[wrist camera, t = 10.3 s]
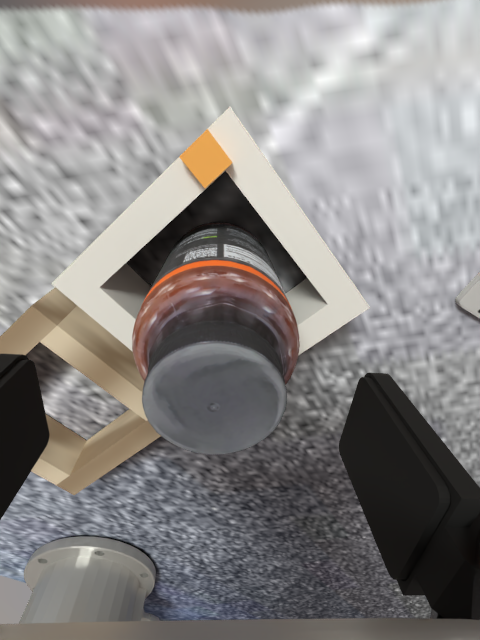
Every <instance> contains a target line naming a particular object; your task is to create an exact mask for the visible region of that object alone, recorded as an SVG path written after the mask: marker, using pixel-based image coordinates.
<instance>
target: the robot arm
mask: <svg viewBox="0 0 480 640" xmlns="http://www.w3.org/2000/svg"><path fill="white" fill-rule="evenodd" d="M49 435H50V434H49V428H48V424H47V419H46V414H45V410H44V405H43V401H42V396H41V391H40V387H39V382H38V378H37V373H36V369H35V365H34V362H33V361H31V360H29V359H28V357H27V356H26V355H22V354H0V519H1V518H2V516H3V515H4V513H5V511H6V510H7V508H8V507H9V505H10V504H11V502H12V500H13V499H14V497H15V496H16V494H17V492H18V491H19V489H20V488H21V486H22V484H23V483H24V481H25V480H26V478H27V476H28V475H29V473H30V472H31V470H32V469H33V467H34V465H35V464H36V462H37V461H38V459H39V457H40V456H41V454H42V453H43V451H44V449H45V448H46V446H47V444H48V441H49ZM339 451H340V455H341V458H342V460H343V463H344V465H345V468H346V470H347V472H348V475H349V477H350V480H351V482H352V485H353V487H354V490H355V492H356V495H357V497H358V499H359V502H360V504H361V507H362V509H363V512H364V514H365V517H366V519H367V522H368V524H369V526H370V529H371V531H372V534H373V536H374V539H375V541H376V544H377V546H378V549H379V551H380V553H381V556H382V558H383V561H384V563H385V566H386V568H387V571H388V573H389V574H390V576H391V577H392V578H393V579H396V580H397V581H398V584H399V586H400V589H401V591H402V593H403V595H425V596H426V598H427V600H428V602H429V604H430V606H431V614H430V619H420V618H349V619H254V620H189V621H160V619H159V618H158V617H156V616H154V615H152V614H147V613H145V612H144V609H143V607H144V602H145V598H146V597H147V596H148V595H149V594H150V593H151V592H152V590H153V588H154V584H155V578H156V569H155V566H154V564H153V562H152V561H151V560H150V559H149V558H148V556H147V555H145V554H144V553H143V552H141V551H140V550H138V549H137V548H135V547H133V546H131V545H128V544H126V543H123V542H120V541H117V540H112V539H108V538H101V537H91V536H79V537H68V538H63V539H58V540H55V541H52V542H50V543H47V544H45V545H43V546H42V547H40V548H38V549H37V550H36V551H35V552H34V553H33V554H32V556H31V557H30V559H29V561H28V563H27V565H26V568H25V570H24V579H25V581H26V583H27V586H28V587H29V588H30V589H31V590H32V592H33V593H32V595H31V597H30V600H29V602H28V604H27V606H26V608H25V611H24V613H23V615H22V617H21V620H20V622H19V624H0V640H480V488H479V486H478V485H477V484H476V483H475V481H474V480H473V479H472V478H471V476H470V475H469V474H468V473H467V471H466V470H465V469H464V468H463V466H462V465H461V464H460V463H459V461H458V460H457V459H456V458H455V456H454V455H453V454H452V453H451V451H450V450H449V449H448V448H447V446H446V445H445V444H444V443H443V441H442V440H441V439H440V438H439V436H438V435H437V434H436V433H435V431H434V430H433V429H432V428H431V426H430V425H429V424H428V423H427V421H426V420H425V419H424V418H423V416H422V415H421V414H420V413H419V411H418V410H417V409H416V408H415V406H414V405H413V404H412V403H411V401H410V400H409V399H408V398H407V396H406V395H405V394H404V393H403V391H402V390H401V389H400V387H399V386H398V385H397V384H396V382H395V381H394V380H393V379H392V377H391V376H390V375H389V374H383V373H367V374H366V375H365V377H362V378H360V379H359V382H358V385H357V388H356V391H355V394H354V398H353V401H352V404H351V407H350V410H349V414H348V417H347V420H346V423H345V426H344V429H343V433H342V436H341V439H340V443H339Z"/></svg>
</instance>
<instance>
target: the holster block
mask: <svg viewBox="0 0 480 640" xmlns="http://www.w3.org/2000/svg"><path fill="white" fill-rule="evenodd" d="M39 342H41V343H42V344H43V345H45V346H46V347H47V348H49V349H50V350H51V351H53V352H54V353H55V354H57V355H58V356H60V357H61V358H62V359H64V360H65V361H66V362H68V363H69V364H70V365H72V366H73V367H74V368H76V369H77V370H78V371H80V372H81V373H82V374H84V375H85V376H86V377H88V378H89V379H90V380H92V381H93V382H95V383H96V384H97V385H99V386H100V387H101V388H103V389H104V390H105V391H107V392H108V393H109V394H111V395H112V396H113V397H115V398H116V399H117V400H119V401H120V402H121V403H123V404H124V405H125V406H127V407H128V408H130V409H129V410H128V411H126V412H125V413H124V414H122V415H121V416H119V417H118V418H117V419H115V420H114V421H113V422H111V423H110V424H109V425H107V426H106V427H105V428H103V429H102V430H101V431H99V432H98V433H96V434H95V435H94V436H92V437H91V438H90V439H88V440H87V441H86V440H85V439H83V438H82V437H80V436H79V435H77V434H76V433H74V432H73V431H71V430H70V429H68V428H66V427H65V426H63V425H62V424H60V423H59V422H57V421H56V420H54V419H53V418H51V417H50V416H48V415H46V419H47V424H48V428H49V434H50V435H49V441H48V444H47V446H46V448H45V449H44V451H43V453H42V454H41V456H40V457H39V459H38V461H37V462H36V464H35V465H34V467H33V469H32V470H31V471H32V472H34V473H35V474H37V475H39V476H41V477H42V478H44V479H46V480H48V481H50V482H51V483H53V484H55V485H57V486H59V487H60V488H62V489H64V490H66V491H67V492H69V493H71V494H73V495H75V494H77V493H78V492H79V491H81V490H82V489H84V488H85V487H87V486H88V485H90V484H91V483H93V482H94V481H96V480H97V479H99V478H100V477H102V476H103V475H104V474H106V473H107V472H109V471H110V470H112V469H113V468H115V467H116V466H118V465H119V464H121V463H122V462H124V461H125V460H127V459H128V458H130V457H131V456H132V455H134V454H135V453H137V452H138V451H140V450H141V449H143V448H144V447H146V446H147V445H149V444H150V443H152V442H153V441H155V440H156V439H157V438H159V437H160V436H161V435H159V434H158V433H157V432H156V431H155V429H154V428H153V427H152V426H151V424H150V423H149V421H148V419H147V417H146V415H145V412H144V409H143V403H142V392H143V386H144V380H143V379H142V377H141V375H140V373H139V371H138V368H137V366H136V363H135V360H134V356H133V352H132V351H131V350H130V349H129V348H128V347H126V346H125V345H124V344H123V343H122V342H120V341H119V340H118V339H117V338H116V337H114V336H113V335H112V334H111V333H110V332H108V331H107V330H106V329H105V328H104V327H102V326H101V325H100V324H99V323H98V322H96V321H95V320H94V319H93V318H92V317H90V316H89V315H88V314H87V313H86V312H84V311H83V310H82V309H81V308H80V307H78V306H77V305H76V304H75V303H74V302H73V301H71V300H70V299H69V298H68V297H67V296H65V295H64V294H63V293H62V292H61V291H59V290H58V289H57V288H56V287H55V288H54V289H53V290H51V291H50V292H49V293H47V294H46V295H45V296H44V297H42V298H41V299H40V300H38V301H37V302H36V303H34V304H33V305H32V306H31V307H30V308H29V309H28V310H27V311H26V312H25V313H24V314H23V315H22V316H21V317H20V318H19V319H18V320H17V321H16V322H15V323H14V324H13V325H12V326H11V327H10V328H9V329H8V330H7V331H6V332H5V333H3V334H2V335H1V336H0V354H22V355H26V354H27V353H28V352H29V351H30V350H31V349H33V348H34V347H35V346H36V345H37V344H38V343H39Z"/></svg>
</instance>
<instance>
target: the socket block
mask: <svg viewBox="0 0 480 640" xmlns="http://www.w3.org/2000/svg"><path fill="white" fill-rule="evenodd" d="M225 171H226V172H227V173H228V175H229V176H230V177H231V179H232V180H233V181H234V182H235V184H236V185H237V186H238V188H239V189H240V190H241V192H242V193H243V194H244V196H245V197H246V198H247V199H248V201H249V202H250V203H251V205H252V206H253V207H254V209H255V210H256V211H257V212H258V214H259V215H260V216H261V218H262V219H263V220H264V222H265V223H266V224H267V226H268V227H269V228H270V229H271V231H272V232H273V233H274V235H275V236H276V237H277V239H278V240H279V241H280V243H281V244H282V245H283V246H284V248H285V249H286V250H287V252H288V253H289V254H290V256H291V257H292V258H293V259H294V261H295V262H296V263H297V265H298V266H299V267H300V269H301V270H302V271H303V273H304V274H305V275H306V276H307V278H306V279H305V280H303V281H302V282H301V283H299V284H298V285H297V286H295V287H294V288H293V289H291V290H290V291H288V292H287V293H286V297H287V299H288V301H289V304H290V306H291V309H292V311H293V313H294V316H295V319H296V322H297V326H298V332H299V342H300V347H299V354H298V355H300V354H301V353H303V352H304V351H306V350H307V349H309V348H310V347H312V346H313V345H315V344H316V343H318V342H319V341H321V340H322V339H324V338H325V337H327V336H328V335H330V334H331V333H333V332H334V331H336V330H337V329H339V328H340V327H342V326H343V325H345V324H346V323H348V322H349V321H351V320H352V319H354V318H355V317H357V316H358V315H360V314H361V313H363V312H364V311H366V310H367V309H369V308H370V307H369V305H368V304H367V302H366V301H365V300H364V298H363V297H362V295H361V294H360V292H359V291H358V289H357V288H356V287H355V285H354V284H353V282H352V281H351V279H350V278H349V277H348V275H347V274H346V272H345V271H344V269H343V268H342V267H341V265H340V264H339V262H338V261H337V259H336V258H335V256H334V255H333V254H332V252H331V251H330V249H329V248H328V246H327V245H326V244H325V242H324V241H323V239H322V238H321V236H320V235H319V234H318V232H317V231H316V229H315V228H314V226H313V225H312V224H311V222H310V221H309V219H308V218H307V216H306V215H305V213H304V212H303V211H302V209H301V208H300V206H299V205H298V203H297V202H296V201H295V199H294V198H293V196H292V195H291V193H290V192H289V191H288V189H287V188H286V186H285V185H284V183H283V182H282V180H281V179H280V178H279V176H278V175H277V173H276V172H275V170H274V169H273V168H272V166H271V165H270V163H269V162H268V160H267V159H266V158H265V156H264V155H263V153H262V152H261V150H260V149H259V147H258V146H257V145H256V143H255V142H254V140H253V139H252V137H251V136H250V135H249V133H248V132H247V130H246V129H245V127H244V126H243V125H242V123H241V122H240V120H239V119H238V117H237V116H236V115H235V113H234V112H233V110H232V109H231V107H229V108H228V109H227V110H226V111H225V112H224V113H223V114H222V115H221V116H220V117H219V118H218V119H217V120H216V121H215V122H214V123H213V124H212V125H211V126H210V127H209V128H208V129H207V130H206V131H205V132H204V133H203V134H202V135H201V136H200V137H199V138H198V139H197V140H196V141H195V142H194V143H193V144H192V145H191V146H190V147H189V148H188V149H187V150H186V151H185V152H184V153H183V154H182V155H181V156H180V157H179V158H178V159H177V160H176V161H175V162H173V163H172V164H171V165H170V166H169V167H168V168H167V169H166V170H165V171H164V172H163V173H162V174H161V175H160V176H159V177H158V178H157V179H156V180H155V181H154V182H153V183H152V184H151V185H150V186H149V187H148V188H147V189H146V190H145V191H144V192H143V193H142V194H141V195H140V196H139V197H138V198H137V199H136V200H135V201H134V202H133V203H132V204H131V205H130V206H129V207H128V208H127V209H126V210H125V211H124V212H123V213H122V214H121V215H120V216H119V217H118V218H117V219H116V220H115V221H114V222H113V223H112V224H111V225H110V226H109V227H108V228H107V229H106V230H105V231H104V232H103V233H102V234H101V235H100V236H99V237H98V238H97V239H96V240H95V241H94V242H93V243H92V244H91V245H90V246H89V247H88V248H87V249H86V250H85V251H84V252H83V253H82V254H81V255H80V256H79V257H78V258H77V259H76V260H75V261H74V262H73V263H72V264H71V265H70V266H69V267H68V268H67V269H66V270H65V271H64V272H63V273H62V274H61V275H60V276H59V277H58V278H57V279H56V280H54V281H53V282H52V283H51V284H52V285H53V286H55V287H56V288H57V289H58V290H59V291H61V292H62V293H63V294H64V295H65V296H67V297H68V298H69V299H70V300H71V301H73V302H74V303H75V304H76V305H77V306H78V307H80V308H81V309H82V310H83V311H84V312H86V313H87V314H88V315H89V316H90V317H92V318H93V319H94V320H95V321H96V322H98V323H99V324H100V325H101V326H102V327H104V328H105V329H106V330H107V331H108V332H110V333H111V334H112V335H113V336H114V337H116V338H117V339H118V340H119V341H120V342H122V343H123V344H124V345H125V346H126V347H128V348H129V349H130V350H131V351H132V352H133V350H132V334H133V329H134V324H135V321H136V318H137V315H138V313H139V311H140V309H141V306H142V304H143V302H144V300H145V298H146V296H147V294H148V292H149V290H150V288H151V287H150V286H149V285H148V284H147V283H146V282H145V281H144V280H143V279H142V278H141V277H140V276H139V275H138V274H137V273H136V272H135V271H134V270H133V269H132V268H131V267H130V266H129V265H128V264H127V263H126V262H127V261H128V260H130V259H131V258H132V257H133V256H134V255H135V254H136V253H137V252H138V251H139V250H140V249H141V248H142V247H144V246H145V245H146V244H147V243H148V242H149V241H150V240H151V239H152V238H153V237H154V236H155V235H157V234H158V233H159V232H160V231H161V230H162V229H163V228H164V227H165V226H166V225H167V224H168V223H170V222H171V221H172V220H173V219H174V218H175V217H176V216H177V215H178V214H179V213H180V212H181V211H182V210H184V209H185V208H186V207H187V206H188V205H189V204H190V203H191V202H192V201H193V200H194V199H195V198H197V197H198V196H199V195H200V194H201V193H202V192H203V191H204V190H205V189H206V188H207V187H208V186H209V185H211V184H212V183H213V182H214V181H215V180H216V179H217V178H218V177H219V176H220V175H221V174H222V173H224V172H225Z"/></svg>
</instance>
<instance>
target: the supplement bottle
mask: <svg viewBox="0 0 480 640" xmlns="http://www.w3.org/2000/svg"><path fill="white" fill-rule="evenodd" d="M299 347H300V342H299V332H298V326H297V322H296V319H295V316H294V313H293V311H292V309H291V306H290V304H289V301H288V299H287V297H286V294H285V292H284V290H283V288H282V286H281V283H280V281H279V279H278V277H277V275H276V273H275V270H274V268H273V266H272V263H271V261H270V259H269V257H268V254H267V252H266V250H265V249H264V247H263V246H262V244H261V243H260V242H259V241H258V240H257V239H256V238H255V237H254V236H253V235H252V234H251V233H250V232H248V231H247V230H245V229H243V228H241V227H238V226H236V225H233V224H229V223H209V224H204V225H201V226H198V227H196V228H194V229H192V230H190V231H189V232H187V233H186V234H185V235H183V236H182V238H181V239H180V240H179V241H178V242H177V243H176V244H175V246H174V247H173V249H172V250H171V252H170V254H169V256H168V257H167V259H166V261H165V263H164V265H163V267H162V269H161V270H160V272H159V274H158V276H157V278H156V279H155V281H154V283H153V285H152V287H151V288H150V290H149V292H148V294H147V296H146V298H145V300H144V302H143V304H142V306H141V309H140V311H139V313H138V315H137V318H136V321H135V324H134V329H133V334H132V350H133V356H134V360H135V363H136V366H137V368H138V371H139V373H140V375H141V377H142V379H143V380H144V386H143V392H142V403H143V409H144V412H145V415H146V417H147V419H148V421H149V423H150V424H151V426H152V427H153V428H154V429H155V431H156V432H157V433H158V434H159V435H161V436H162V437H163V438H164V439H166V440H167V441H169V442H171V443H172V444H174V445H176V446H178V447H179V448H182V449H185V450H188V451H191V452H195V453H200V454H207V455H219V454H229V453H233V452H238V451H242V450H244V449H247V448H250V447H252V446H254V445H256V444H257V443H259V442H260V441H262V440H263V439H265V438H266V437H267V436H269V435H270V434H271V433H272V432H273V431H274V430H275V428H276V427H277V426H278V424H279V422H280V421H281V419H282V417H283V414H284V412H285V408H286V403H287V391H286V386H285V385H286V384H287V382H288V380H289V379H290V377H291V375H292V373H293V371H294V369H295V366H296V364H297V359H298V354H299Z"/></svg>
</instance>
